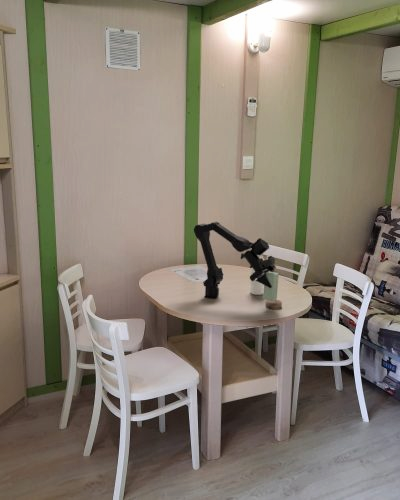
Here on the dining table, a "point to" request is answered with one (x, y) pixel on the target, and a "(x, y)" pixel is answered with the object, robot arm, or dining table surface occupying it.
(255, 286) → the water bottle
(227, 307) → the dining table surface
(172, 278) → the dining table surface
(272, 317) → the dining table surface
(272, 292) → the sage post
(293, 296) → the dining table surface
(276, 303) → the walnut plinth
